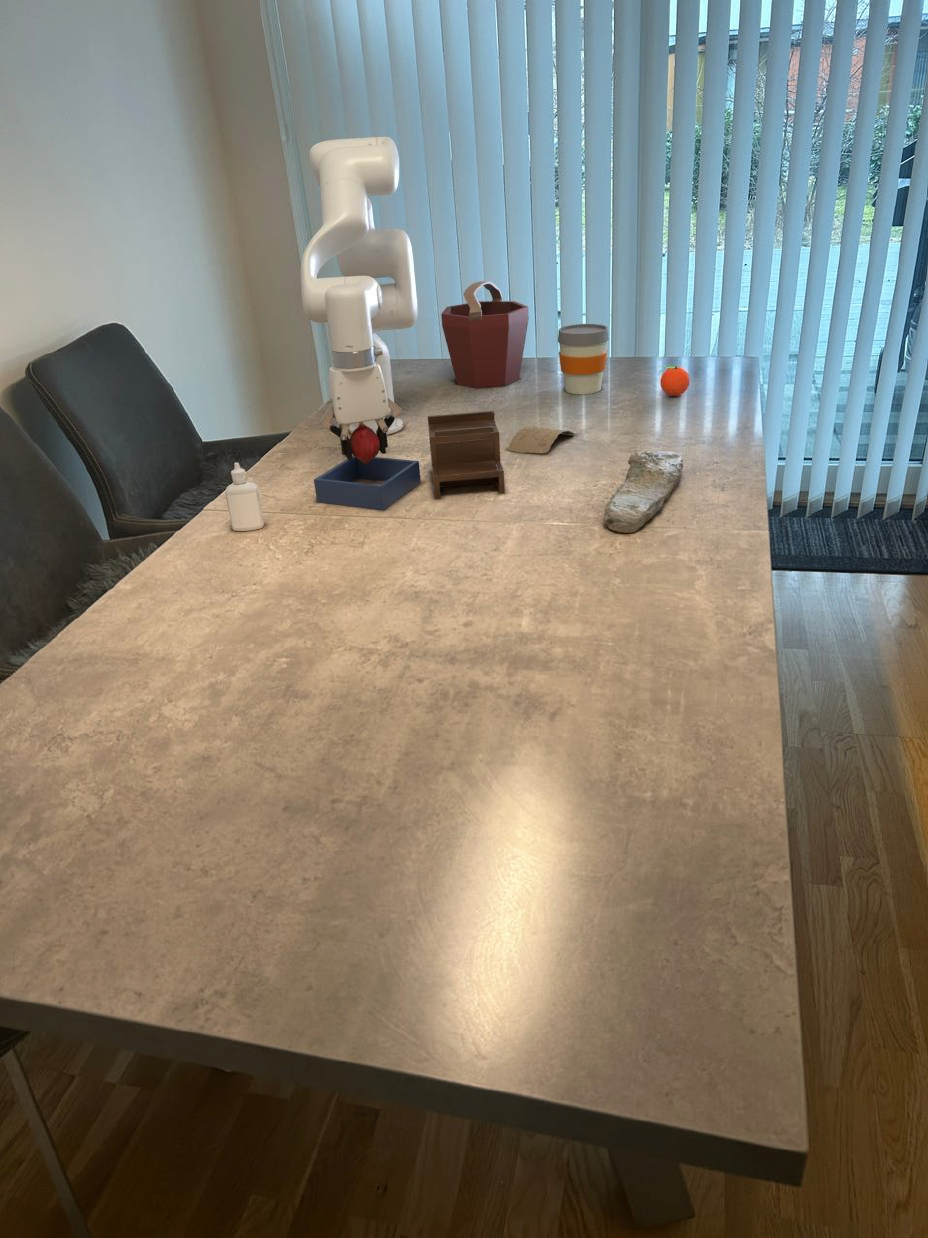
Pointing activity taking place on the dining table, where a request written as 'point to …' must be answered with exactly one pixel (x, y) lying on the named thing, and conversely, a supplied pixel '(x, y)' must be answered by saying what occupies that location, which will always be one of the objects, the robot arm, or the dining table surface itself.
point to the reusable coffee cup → (583, 356)
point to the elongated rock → (643, 490)
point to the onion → (364, 443)
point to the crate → (343, 491)
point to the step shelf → (465, 450)
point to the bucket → (485, 338)
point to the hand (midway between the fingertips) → (365, 453)
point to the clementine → (674, 381)
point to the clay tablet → (535, 439)
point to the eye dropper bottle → (243, 502)
